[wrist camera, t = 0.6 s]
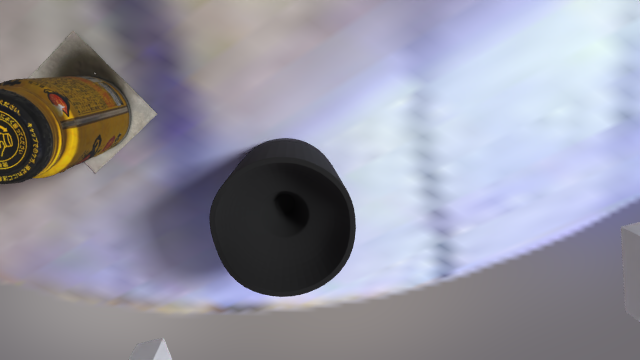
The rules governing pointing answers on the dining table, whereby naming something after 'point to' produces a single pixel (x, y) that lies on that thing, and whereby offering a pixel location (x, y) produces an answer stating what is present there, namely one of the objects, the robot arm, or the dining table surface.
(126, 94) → the condiment
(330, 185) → the pen holder
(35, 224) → the dining table surface
